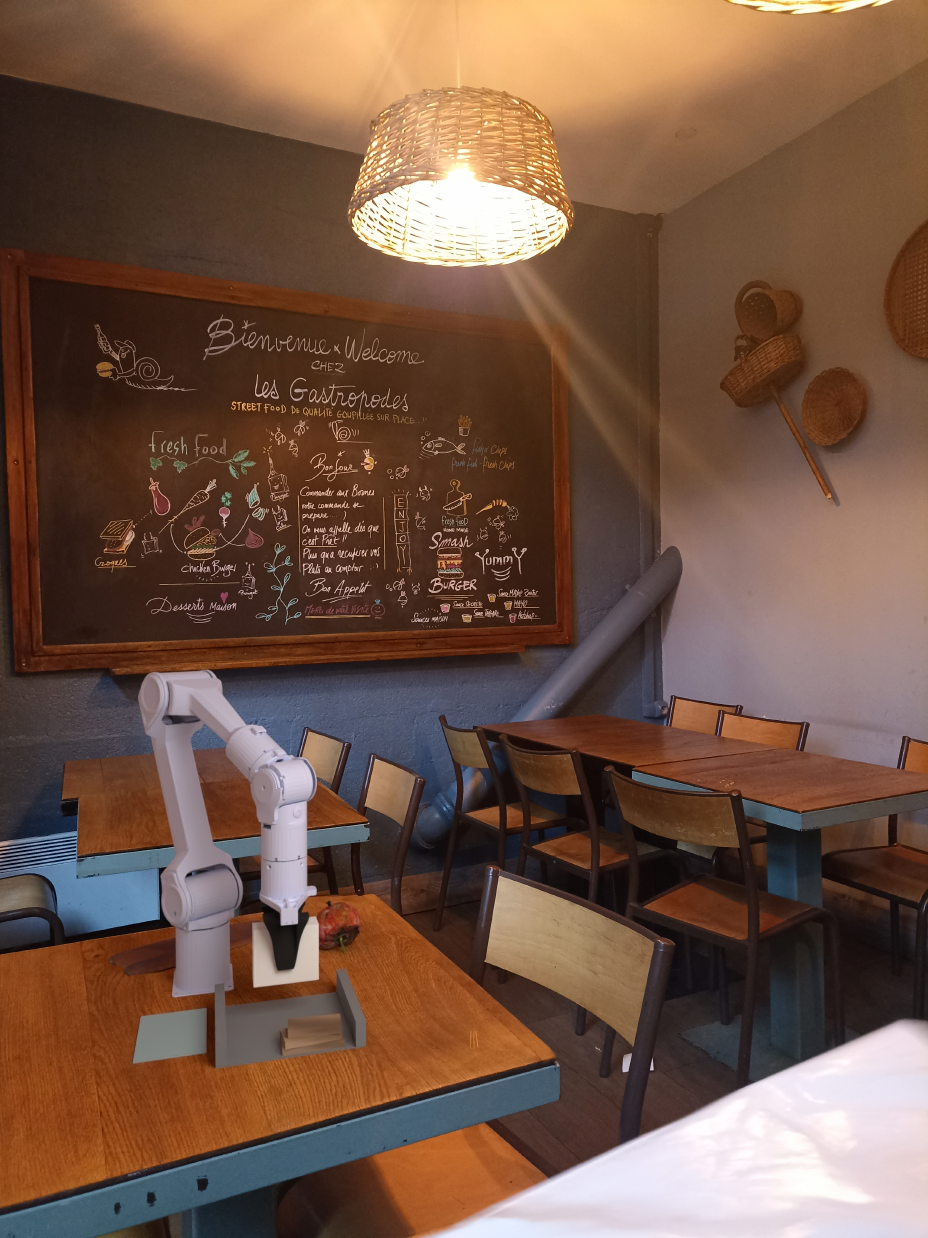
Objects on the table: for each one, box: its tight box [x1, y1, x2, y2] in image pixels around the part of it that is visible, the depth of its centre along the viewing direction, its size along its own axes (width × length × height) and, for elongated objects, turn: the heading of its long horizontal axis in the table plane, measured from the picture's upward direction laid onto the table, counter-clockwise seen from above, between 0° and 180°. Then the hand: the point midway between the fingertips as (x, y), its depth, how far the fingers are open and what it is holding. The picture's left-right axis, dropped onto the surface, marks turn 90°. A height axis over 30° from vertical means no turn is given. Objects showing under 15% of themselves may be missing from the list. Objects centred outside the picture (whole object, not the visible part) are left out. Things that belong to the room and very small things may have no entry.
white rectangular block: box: [251, 915, 320, 988], centre depth 108 cm, size 3×8×7 cm, turn 107°
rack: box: [214, 968, 367, 1069], centre depth 106 cm, size 16×17×4 cm
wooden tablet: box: [109, 919, 263, 977], centre depth 135 cm, size 27×10×2 cm, turn 135°
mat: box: [132, 1007, 208, 1064], centre depth 104 cm, size 12×8×1 cm, turn 17°
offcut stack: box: [280, 1014, 345, 1056], centre depth 101 cm, size 4×7×2 cm, turn 107°
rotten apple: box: [316, 900, 363, 954], centre depth 133 cm, size 7×7×10 cm
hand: (284, 963), depth 108 cm, fingers closed on white rectangular block, 3 cm apart
